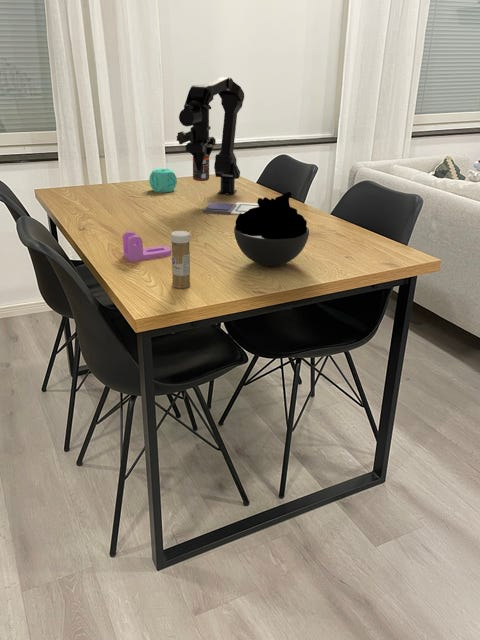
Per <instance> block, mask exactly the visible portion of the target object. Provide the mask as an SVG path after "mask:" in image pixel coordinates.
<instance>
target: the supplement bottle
mask: <svg viewBox="0 0 480 640" xmlns="http://www.w3.org/2000/svg"><path fill="white" fill-rule="evenodd" d="M205 151H206V152H207V149H206V148H205ZM192 179H193V180H194V181H197V182H206V181H209V180H210V156H209V155H208V154H207V153H206V154H205V157H204V161H203V164H202V167H201V170H197V167H196V164H195V160H194V157H193V156H192Z"/></svg>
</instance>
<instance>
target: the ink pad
mask: <svg viewBox="0 0 480 640" xmlns="http://www.w3.org/2000/svg"><path fill="white" fill-rule="evenodd" d="M236 206H237V204H236V203H231V202H230V203H229V202H228V203H226V202H216V201H215V202H214V201H212V202H209V203H208V204H207V205H206V206H205V207H204V208H203V209H202V213H206V214H219V215H220V214H221V215H232V214H231V212H232V211H233V210H234V208H235V207H236Z"/></svg>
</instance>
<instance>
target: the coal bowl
mask: <svg viewBox="0 0 480 640" xmlns="http://www.w3.org/2000/svg"><path fill="white" fill-rule="evenodd" d="M291 197H292V193H291V192H290V191H287V192H286V193H283V194H282V195H280V196H276V197H275V198H268V197H265V196H264V197H263V198H262V197H259V198H257V202H256V204H258V205H259V207H255V208H252V209H249V210H248V211H247V212H245V213H243V214H241V213H240V214H239V215H238V216H237V217H236V220H235V225H234V227H233V233H234V238H235V242H236V244H237V245H238V248H239V249H240V251H241V252H242V254H243V255H244V256H245V257H247V258H248V259H249V260H251V261H252V262H254V263H256V264H257V265H261V266H266V267H276V266H282V265H285V264H288V263H289V262H291V261H292V260H294V259H295V258H297V257H298V256H299V254H300V253H302V251H303V250H304V247H306V245H307V242H308V239H309V237H310V229H309V227H307V224H308V222H307V220H306V219H305V217H304V216H303V215H302V214H300V213H298V209H297V208H295V207H292V206H291V205H290V198H291Z"/></svg>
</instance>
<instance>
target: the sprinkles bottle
mask: <svg viewBox="0 0 480 640" xmlns="http://www.w3.org/2000/svg"><path fill="white" fill-rule="evenodd" d="M170 241H171V275H172V283H171V285H172V287H173V288H174V289H187V288H189V287H190V286H191V279H190V278H191V251H190V243H191V234H190V231H189V232H188V231H187V230H175V231H173V232H171V233H170Z"/></svg>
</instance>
